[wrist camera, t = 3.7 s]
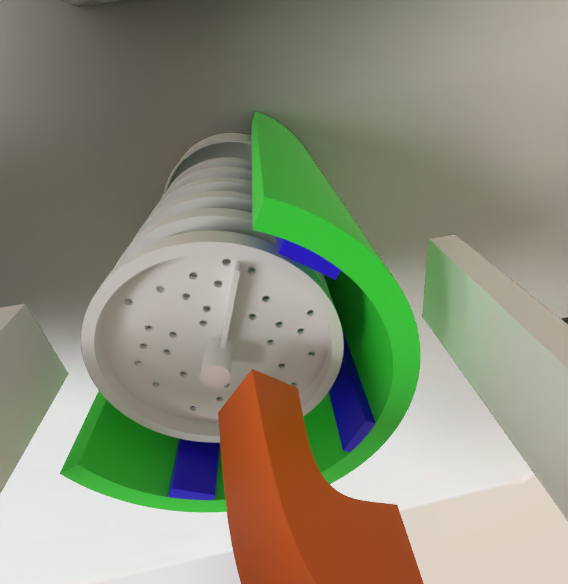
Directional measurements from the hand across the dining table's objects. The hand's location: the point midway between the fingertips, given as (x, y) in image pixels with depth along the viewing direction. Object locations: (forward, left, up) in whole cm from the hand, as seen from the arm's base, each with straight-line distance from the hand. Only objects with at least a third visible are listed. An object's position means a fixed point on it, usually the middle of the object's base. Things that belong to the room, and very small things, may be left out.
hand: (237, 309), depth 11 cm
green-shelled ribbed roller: (0, 0, -11) cm, 11 cm away
